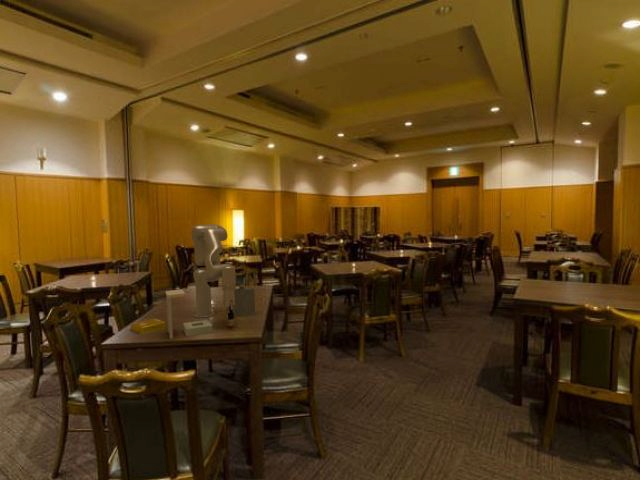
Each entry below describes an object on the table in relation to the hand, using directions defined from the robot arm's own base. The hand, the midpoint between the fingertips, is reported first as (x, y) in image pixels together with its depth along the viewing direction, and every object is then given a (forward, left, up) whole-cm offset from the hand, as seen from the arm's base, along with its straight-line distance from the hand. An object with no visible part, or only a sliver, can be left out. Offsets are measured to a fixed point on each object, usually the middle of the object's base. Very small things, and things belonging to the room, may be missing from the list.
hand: (230, 318), depth 222 cm
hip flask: (-23, +13, -6) cm, 28 cm away
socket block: (-2, -22, -6) cm, 23 cm away
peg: (0, 0, -4) cm, 4 cm away
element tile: (-22, -43, -6) cm, 49 cm away
